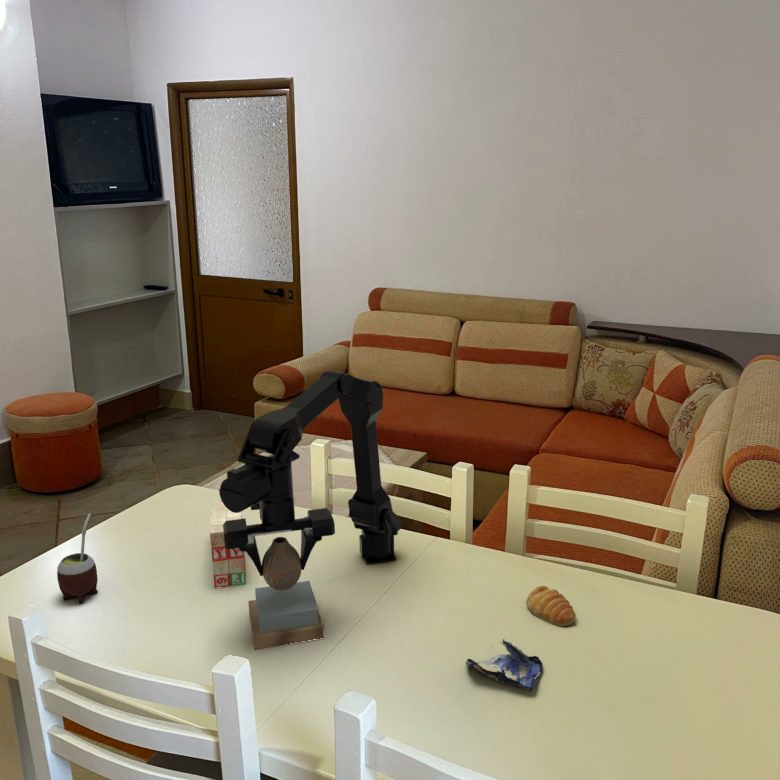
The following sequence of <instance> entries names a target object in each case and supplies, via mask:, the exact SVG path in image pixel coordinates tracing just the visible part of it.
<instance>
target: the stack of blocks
mask: <svg viewBox="0 0 780 780" xmlns="http://www.w3.org/2000/svg"><path fill="white" fill-rule="evenodd" d="M242 516H243V514H242V511H241V512H239V513H234V512H231V511H230V510H228V509H227V508H226V507H225V505H224V504H223V502H222V500H221V501H218V500H217V501H212V502H211V506H210V520H209V521H210V523H209V524H210V525H209V538H210V548H211V549H210V550H211V560H212V568H213V583H214V584H213V585H214V589H218V588H217V587H222V588H227V586H230V587H235V586H244V585H247V565H246V564H247V562H246V556H245V555H246V554H245V551H243V552H241V551H239V548H235V549H226V548H225V541H224V531H223V524H224V523H225V521H229V520H237V519H243V517H242Z"/></svg>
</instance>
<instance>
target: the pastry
mask: <svg viewBox="0 0 780 780" xmlns="http://www.w3.org/2000/svg"><path fill="white" fill-rule="evenodd" d="M525 602H526V603H525V604H526V606H527V608H528V609H529V611H530V612H531V613H532V614H534V616H535V617H537V618H539V619H541V620H543V621H545V622H547V623H549V624H551V625H553V626H559V627H566V626H568V625H572V624H573V623H574V622H575V619H576V616H577V615H576V612H575V610H574V607H573V605H571V604H570V601H569V600H567V599H566V597H565V596H564V595H563V594H562V593H560V592H559V591H558V589H555V588H554V589H553V588H552V589H551V588H549V587H548V586H546V585H540V586H537V587H534V589H533V590H532V591H530V593H529V594H528V596H527V598H526V601H525Z"/></svg>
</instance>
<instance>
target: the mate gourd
mask: <svg viewBox="0 0 780 780" xmlns="http://www.w3.org/2000/svg"><path fill="white" fill-rule="evenodd" d="M91 515H92V514H91V513H88V514H87V517H86V519H85V521H84V523H83V527H82V529H81V544H80V552H77V553H72V554H69V555H66V556H65V557H64V558H62V559H61V560H60V561H59V563H58V565H57V567H56V569H57V572H56V575H57V576H56V577H57V582H58V587H59V590H60V592H61V594H62V596H63V597H62V600H63V601H64V602H67V601H71V600H76V599H78V604H79V605H80V606H81V605H84V603H85V602H84V598H85V597H89V596H93V595H97V594H98V591H99V590H98V589H97V586H98V581H99V580H98V570H97V565H96V562H95V560H94V558H92V556H91V555H89V554H87V553H85V541H86V535H87V525H88V523H89V520H90V518H91Z"/></svg>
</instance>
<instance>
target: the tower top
mask: <svg viewBox="0 0 780 780" xmlns="http://www.w3.org/2000/svg"><path fill="white" fill-rule="evenodd" d="M313 593H314V591H313V588H312V585H311V581H310V580H306V581H305V580H304V581H297V583H296V584H295V585H294V586H293V587H292V588H290V589H287V590H275V589H273V588H272V587H270V586H269V585H268V586H263V587H256V588H254V595H255V600H256V605H257V613H258V620H259V627H260V634H261V633H268V632H274V631H281V630H287V629H294V628H300V627H307V626H313V625H318V610H319V608H318V609H317V607H318V605H317V606H316V603H317V602H315V600H316V598H315V599H314V597H315V594H314V595H313Z"/></svg>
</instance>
